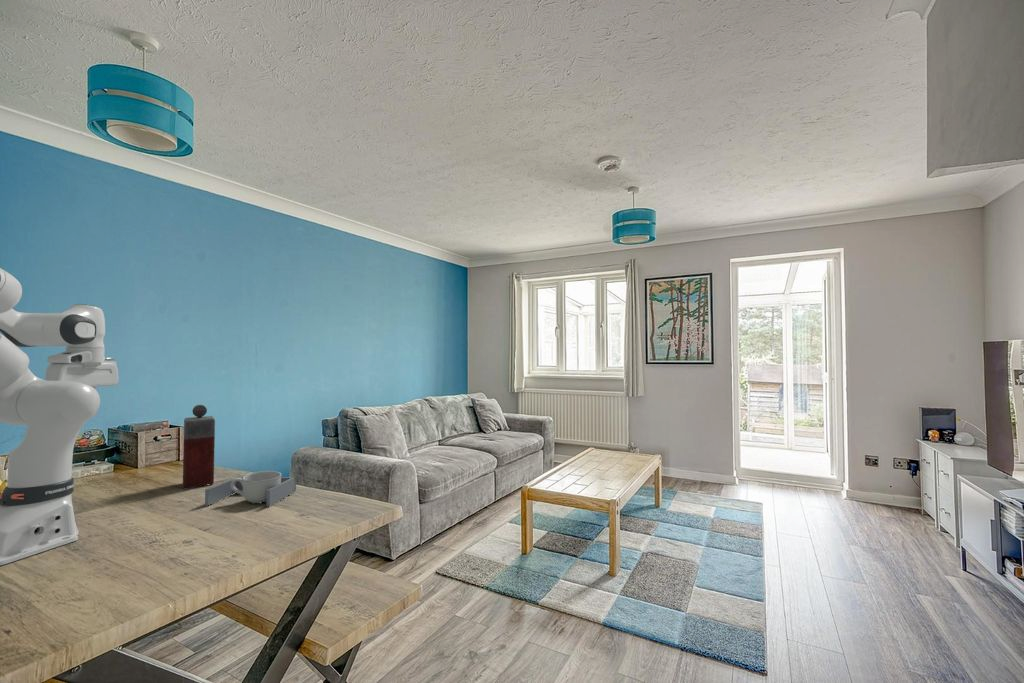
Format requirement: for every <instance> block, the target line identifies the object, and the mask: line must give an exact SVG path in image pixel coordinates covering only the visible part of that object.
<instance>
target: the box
mask: <svg viewBox="0 0 1024 683" xmlns="http://www.w3.org/2000/svg"><path fill="white" fill-rule="evenodd" d="M243 477H244V476H236V477H234V478H231V479H228V480H226V481H223V482H221V483H219V484H216V485H212V486H211V487H208V488H206V489H205V490H204V507H209V506H208V505H210V504H212V505H214V504H213V503H215V502H217V501H219V500H221V499H223V500H225V499H224V498H225V497H227V496H229V495H231V494H233V493H235V491H233V490H232V489H231V486H230V484H231V482H232V480H233V479H235V478H242V479H243ZM234 486H235V487H236V488H237V489H239V490H242V491H243V486H242V485H241V482H239V481H236V482H235V483H234ZM296 490H297V477H296V476H281V483H280V484H278V485H276V486H274V487H272V488H270V489H268V490H267V502H266V504H265V505H266V506H271V505H273V504H274V505H276V504H277V502H278V501H280V500H282V499H283V498H285V497H287V496H288V495H290V494H292V493H294V492H295V491H296ZM296 492H297V491H296ZM294 494H295V493H294ZM292 495H293V494H292ZM290 496H291V495H290ZM287 498H288V497H287ZM285 499H286V498H285ZM283 500H284V499H283ZM283 500H282V501H283ZM221 501H222V500H221ZM219 502H220V501H219ZM280 502H281V501H280ZM217 503H218V502H217ZM275 503H276V504H275ZM278 503H279V502H278ZM215 504H216V503H215ZM274 505H273V506H274ZM210 506H211V505H210ZM271 507H272V506H271Z"/></svg>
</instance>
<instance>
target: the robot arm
mask: <svg viewBox="0 0 1024 683" xmlns="http://www.w3.org/2000/svg"><path fill="white" fill-rule="evenodd" d="M22 296H23V288H22V284H21V283H20V280H18V279H17V278H16V277H14V275H12V274H11V273H9V272H8V271H6V270H4V269H2V268H1V267H0V423H4V424H7V425H11V426H27V427H26V431H25V434H24V436H23V439H22V440H21V441H20V443H19V444H18V445H17V446H16V447H14V448H13V449H12V450H11V451H10V452H9V454H8V456H7V479H6V480H7V482H6V486H5V487H4V488H3V490H2V492H0V566H4V565H6V564H10V563H12V562H16V561H19V560H22V559H25V558H28V557H31V556H34V555H36V554H40V553H43V552H46V551H50V550H52V549H54V548H57V547H61V546H64V545H67V544H69V543H72V542H75V541H78V539H79V537H78V536H79V533H80V531H79V529H78V527H77V524H76V518H75V513H74V512H75V511H74V506H73V498H72V497H73V496H72V495H73V492H75V491H74V490H75V483H74V482H75V480H74V477H73V476H72V475H73V473H72V472H73V458H74V457H73V455H74V448H75V443H76V441H77V438H78V435H79V434H80V432H81V430H82V429H83V427H84V425H85V423H87V422H88V421H89V420H91V419H92V418H93V417H94V416H95V415H96V414H98V413H97V412H98V411H99V408H100V406H101V396H100V394H99V392H98V391H97V389H96V388H97V387H110V386H112V387H113V386H117V385H118V383H119V382H120V380H119V379H120V378H119V377H120V376H119V369H118V364H117V361H116V360H115V359H114V358H113V357H106V356H105V351H106V349H105V347H106V346H105V344H104V338H105V336H106V318H105V314H104V311H103V309H102V308H100V307H99V306H95V305H92V304H84V303H76V304H71V305H70V307H69V309H67V310H64V311H60V312H47V313H45V312H24V311H23V312H21V311H16V310H15V309H14V307H16V306H17V305H18V303H19V302H20V300H21V298H22ZM31 347H65V351H63V352H58V353H55V354H52V355H49V356H48V357H47V360H46V362H47V363H48V366H47V367H46V370H45V377H44V378H45V379H42V378H40V377H38V376H36V375H34V373H33V372H32V371H31V370H30V368H29V366H30V358H29V355H28V354H27V353H25V352H24V350H22V349H20V348H31Z"/></svg>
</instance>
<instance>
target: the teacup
mask: <svg viewBox="0 0 1024 683" xmlns="http://www.w3.org/2000/svg"><path fill="white" fill-rule="evenodd" d="M242 477H243V479H242V478H236V477H234V478H235V479H233V478H232V479H233V480H232V482H231V484H230V486H231V489H232V490H233V491H235V492H236V493H237V494H239V495H240V496H241V497H243V498H244V500H245V501H248V502H249V503H250V502H252V503H251V504H255V503H259V504H261V503H260V502H266V503H267V490H268V489H270V488H272V487H274V486H276V485H278V484H280V483H281V477H282V473H281V472H279V471H275V470H263V471H261V470H260V471H256V472H255V471H254V472H251V473H247V474H246V475H244V476H242ZM236 481H239V482H241V485H242V486H243V491H242V490H239V489H237V488H236V487H235V486H234V483H235V482H236Z"/></svg>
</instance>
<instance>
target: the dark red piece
mask: <svg viewBox="0 0 1024 683" xmlns="http://www.w3.org/2000/svg"><path fill="white" fill-rule="evenodd" d="M207 412H208V408H207V407H206V406H205V405H203V404H196V405H195V406H194V407H193V408H192V415H194V416H189V417H185V418H184V419H183V451H182V452H183V456H182V457H183V458H182V461H183V462H182V464H183V465H182V489H183V488H187V489H191V488H190V487H194V488H197V487H196V486H201V487H203V486H202V485H207V484H213V483H214V484H215V445H216V443H215V440H216V436H215V435H216V432H215V431H216V421H215V420H216V419H215V417H214V416H213V415H209V416H206V414H207Z"/></svg>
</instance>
